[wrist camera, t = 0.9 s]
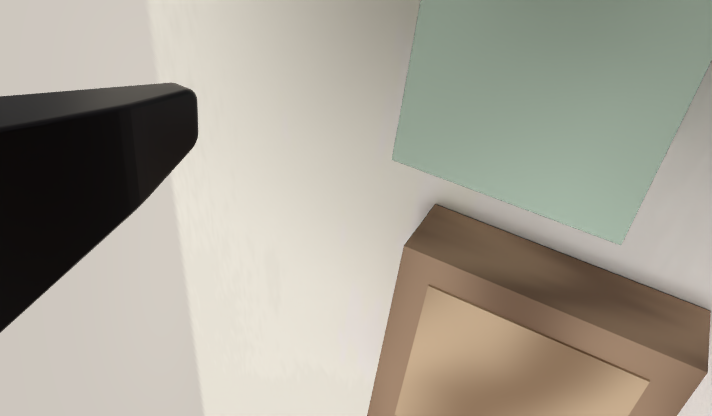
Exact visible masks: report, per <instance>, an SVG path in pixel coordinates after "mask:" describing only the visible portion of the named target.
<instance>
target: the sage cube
mask: <svg viewBox="0 0 712 416" xmlns="http://www.w3.org/2000/svg"><path fill="white" fill-rule="evenodd" d="M711 61H712V0H421V1H420V7H419V12H418V18H417V23H416V29H415V34H414V40H413V46H412V51H411V57H410V62H409V68H408V73H407V79H406V84H405V90H404V95H403V101H402V106H401V112H400V117H399V123H398V128H397V134H396V139H395V145H394V150H393V156H392V160H394V161H397V162H399V163H402V164H405V165H407V166H410V167H413V168H415V169H418V170H421V171H423V172H426V173H429V174H431V175H434V176H437V177H439V178H442V179H445V180H447V181H450V182H453V183H455V184H458V185H461V186H463V187H466V188H469V189H471V190H474V191H477V192H479V193H482V194H485V195H487V196H490V197H493V198H495V199H498V200H501V201H504V202H506V203H509V204H512V205H514V206H517V207H520V208H522V209H525V210H528V211H530V212H533V213H536V214H538V215H541V216H544V217H546V218H549V219H552V220H554V221H557V222H560V223H562V224H565V225H568V226H570V227H573V228H576V229H578V230H581V231H584V232H586V233H589V234H592V235H594V236H597V237H600V238H603V239H605V240H608V241H611V242H613V243H616V244H619V245H621V244H622V242H623V240H624V238H625V236H626V234H627V232H628V230H629V228H630V226H631V224H632V222H633V220H634V218H635V216H636V214H637V212H638V210H639V208H640V206H641V203H642V201H643V199H644V197H645V195H646V193H647V191H648V189H649V187H650V185H651V183H652V181H653V179H654V177H655V175H656V173H657V171H658V169H659V167H660V165H661V163H662V161H663V159H664V157H665V155H666V153H667V151H668V149H669V147H670V144H671V142H672V140H673V138H674V136H675V134H676V132H677V130H678V128H679V126H680V124H681V122H682V120H683V118H684V116H685V114H686V112H687V110H688V108H689V106H690V104H691V102H692V100H693V98H694V96H695V94H696V92H697V90H698V88H699V85H700V83H701V81H702V79H703V77H704V75H705V73H706V71H707V69H708V67H709V65H710V63H711Z"/></svg>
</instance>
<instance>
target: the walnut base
mask: <svg viewBox="0 0 712 416" xmlns="http://www.w3.org/2000/svg"><path fill="white" fill-rule="evenodd" d="M709 331H710V311H709V310H706V309H704V308H701V307H699V306H696V305H693V304H691V303H688V302H686V301H683V300H681V299H678V298H675V297H673V296H670V295H668V294H665V293H662V292H660V291H657V290H655V289H652V288H650V287H647V286H644V285H642V284H639V283H637V282H634V281H632V280H629V279H626V278H624V277H621V276H619V275H616V274H614V273H611V272H608V271H606V270H603V269H601V268H598V267H596V266H593V265H590V264H588V263H585V262H583V261H580V260H578V259H575V258H572V257H570V256H567V255H565V254H562V253H560V252H557V251H554V250H552V249H549V248H547V247H544V246H541V245H539V244H536V243H534V242H531V241H529V240H526V239H523V238H521V237H518V236H516V235H513V234H511V233H508V232H505V231H503V230H500V229H498V228H495V227H493V226H490V225H487V224H485V223H482V222H480V221H477V220H475V219H472V218H469V217H467V216H464V215H462V214H459V213H457V212H454V211H451V210H449V209H446V208H444V207H441V206H439V205H436V204H435V205H434V207H433V208H432V209H431V211H430V212H429V213H428V215H427V216H426V217H425V219H424V220H423V221H422V223H421V224H420V225H419V227H418V228H417V229H416V230H415V232H414V233H413V234H412V236H411V237H410V238H409V240H408V241H407V242H406V244H405V245H404V248H403V253H402V258H401V262H400V267H399V271H398V276H397V281H396V285H395V290H394V294H393V299H392V304H391V308H390V313H389V318H388V322H387V327H386V331H385V336H384V341H383V345H382V350H381V354H380V359H379V364H378V368H377V373H376V377H375V382H374V387H373V391H372V396H371V401H370V405H369V410H368V414H367V416H677V415H678V413H679V412H680V410H681V409H682V408H683V406H684V405H685V403H686V402H687V401H688V399H689V398H690V396H691V395H692V394H693V392H694V391H695V389H696V388H697V387H698V385H699V384H700V382H701V381H702V380H703V378H704V377H705V375H706V374H707V373H708V353H709Z"/></svg>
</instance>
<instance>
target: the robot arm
mask: <svg viewBox="0 0 712 416" xmlns="http://www.w3.org/2000/svg"><path fill="white" fill-rule="evenodd" d="M197 138H198V108H197V97H196V94H195V93H194V92H193V91H192V90H191V89H188V88H186V87H183V86H181V85H178V84H176V83H162V84H150V85H137V86H125V87H112V88H100V89H88V90H75V91H63V92H51V93H39V94H26V95H13V96H1V97H0V332H2V331H3V330H4V329H5V328H6V327H7V326H8V325H9V324H10V323H11V322H13V321H14V320H15V319H16V318H17V317H18V316H19V315H20V314H22V313H23V312H24V311H25V310H26V309H27V308H28V307H29V306H30V305H31V304H32V303H34V302H35V301H36V300H37V299H38V298H39V297H40V296H41V295H43V293H45V292H46V291H47V290H48V289H49V288H50V287H51V286H53V285H54V284H55V283H56V282H57V281H58V280H59V279H60V278H61V277H62V276H64V275H65V274H66V273H67V272H68V271H69V270H70V269H71V268H72V267H73V266H75V265H76V264H77V263H78V262H79V261H80V260H81V259H82V258H83V257H85V256H86V255H87V254H88V253H89V252H90V251H91V250H92V249H93V248H94V247H96V246H97V245H98V244H99V243H100V242H101V241H102V240H103V239H105V237H106V236H108V235H109V234H110V233H111V232H112V231H113V230H114V229H115V228H117V227H118V226H119V225H120V224H121V223H122V222H123V221H124V220H126V219H127V218H128V217H129V216H130V215H131V214H132V213H133V212H134V211H135V210H136V209H137V208H138V207H139V206H140V205H141V204H142V203H143V202H144V201H145V200H146V199H147V198H148V197H149V196H150V195H151V194H152V193H153V192H154V190H155V189H156V188H157V187H158V186H159V185H160V184H161V183H162V182H163V180H164V179H165V178H166V177H167V176H168V175H169V174H170V173H171V172H172V170H173V169H174V168H175V167H176V166H177V165H178V164H179V163H180V162H181V160H182V159H183V158H184V157H185V156H186V155H187V154H188V153H189V151H190V150H191V149H192V148H193V147H194V145H195V143H196V141H197Z"/></svg>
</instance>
